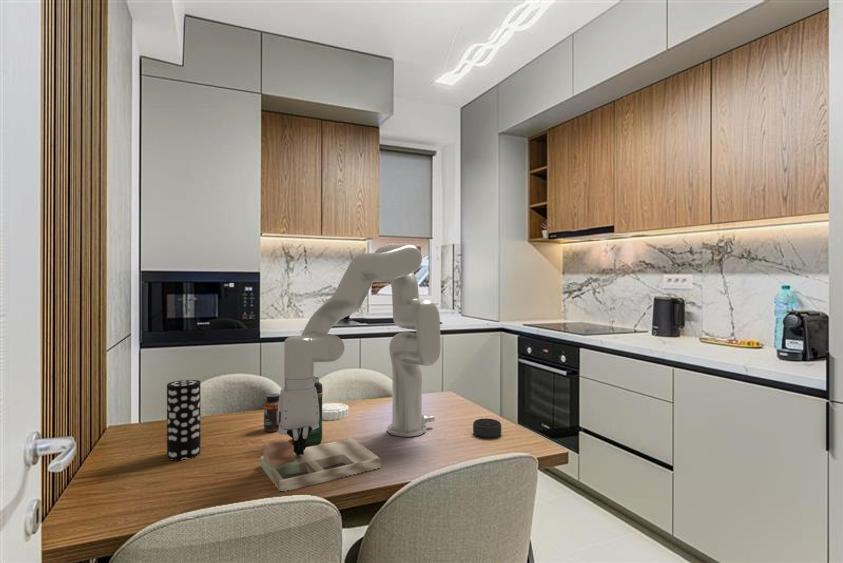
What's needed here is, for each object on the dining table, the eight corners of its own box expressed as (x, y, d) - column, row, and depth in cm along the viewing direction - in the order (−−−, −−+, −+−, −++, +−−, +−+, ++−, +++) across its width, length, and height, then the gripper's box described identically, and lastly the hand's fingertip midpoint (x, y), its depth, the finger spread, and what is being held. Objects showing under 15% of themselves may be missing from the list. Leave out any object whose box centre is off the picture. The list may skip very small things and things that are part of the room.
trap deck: (352, 447, 138) (352, 438, 138) (380, 468, 122) (380, 458, 122) (260, 465, 124) (260, 456, 123) (280, 492, 108) (280, 481, 108)
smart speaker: (474, 439, 145) (475, 426, 145) (471, 430, 154) (471, 417, 154) (503, 439, 145) (503, 426, 145) (498, 430, 154) (498, 417, 154)
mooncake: (308, 419, 165) (308, 409, 165) (323, 410, 176) (323, 400, 176) (341, 422, 162) (341, 411, 162) (353, 412, 174) (353, 402, 174)
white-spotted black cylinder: (166, 463, 125) (166, 387, 125) (167, 452, 133) (167, 381, 132) (201, 457, 129) (201, 384, 129) (199, 447, 136) (199, 378, 136)
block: (286, 454, 125) (286, 439, 125) (293, 461, 120) (293, 446, 120) (263, 458, 122) (263, 443, 122) (269, 466, 117) (269, 450, 117)
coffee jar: (325, 443, 140) (325, 381, 140) (298, 448, 137) (299, 384, 136) (316, 434, 149) (316, 375, 149) (291, 437, 145) (291, 377, 145)
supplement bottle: (286, 427, 156) (286, 392, 156) (278, 432, 150) (278, 397, 150) (268, 426, 156) (268, 392, 156) (260, 432, 150) (260, 396, 150)
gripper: (321, 377, 131) (321, 443, 131) (266, 384, 123) (266, 454, 123) (331, 383, 125) (331, 452, 125) (274, 390, 117) (274, 464, 117)
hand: (298, 453), depth 124 cm, fingers closed
